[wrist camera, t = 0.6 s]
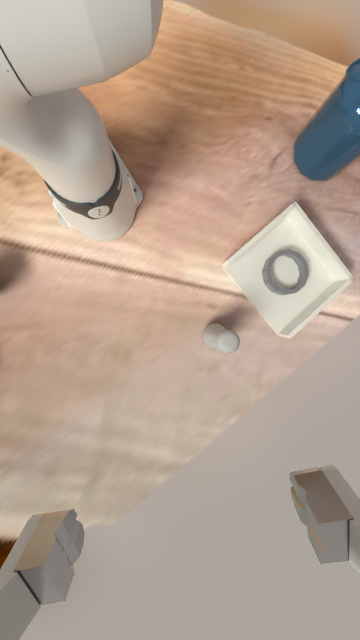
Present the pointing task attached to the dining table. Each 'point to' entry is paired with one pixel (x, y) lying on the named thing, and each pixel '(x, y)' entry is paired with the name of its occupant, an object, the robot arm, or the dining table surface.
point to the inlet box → (288, 271)
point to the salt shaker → (220, 338)
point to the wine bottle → (332, 131)
